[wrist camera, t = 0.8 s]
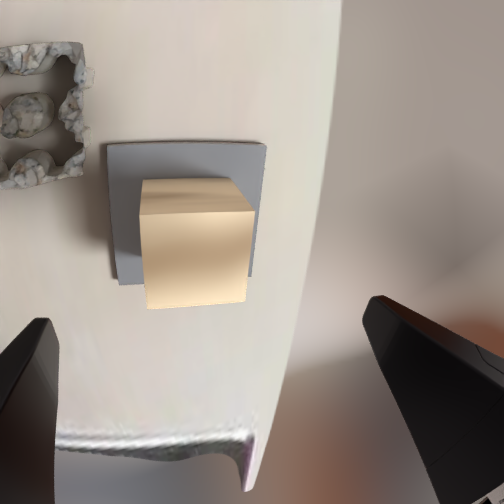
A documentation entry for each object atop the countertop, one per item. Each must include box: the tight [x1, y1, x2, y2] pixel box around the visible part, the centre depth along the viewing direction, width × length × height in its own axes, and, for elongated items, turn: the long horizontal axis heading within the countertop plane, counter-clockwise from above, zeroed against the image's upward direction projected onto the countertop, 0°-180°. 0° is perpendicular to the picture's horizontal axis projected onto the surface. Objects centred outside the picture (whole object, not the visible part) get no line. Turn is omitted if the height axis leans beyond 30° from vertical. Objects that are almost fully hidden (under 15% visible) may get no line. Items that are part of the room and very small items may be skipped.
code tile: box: [107, 142, 267, 285], centre depth 19 cm, size 9×9×1 cm
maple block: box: [139, 178, 255, 309], centre depth 17 cm, size 5×5×5 cm
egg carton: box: [0, 42, 94, 189], centre depth 11 cm, size 11×8×4 cm
